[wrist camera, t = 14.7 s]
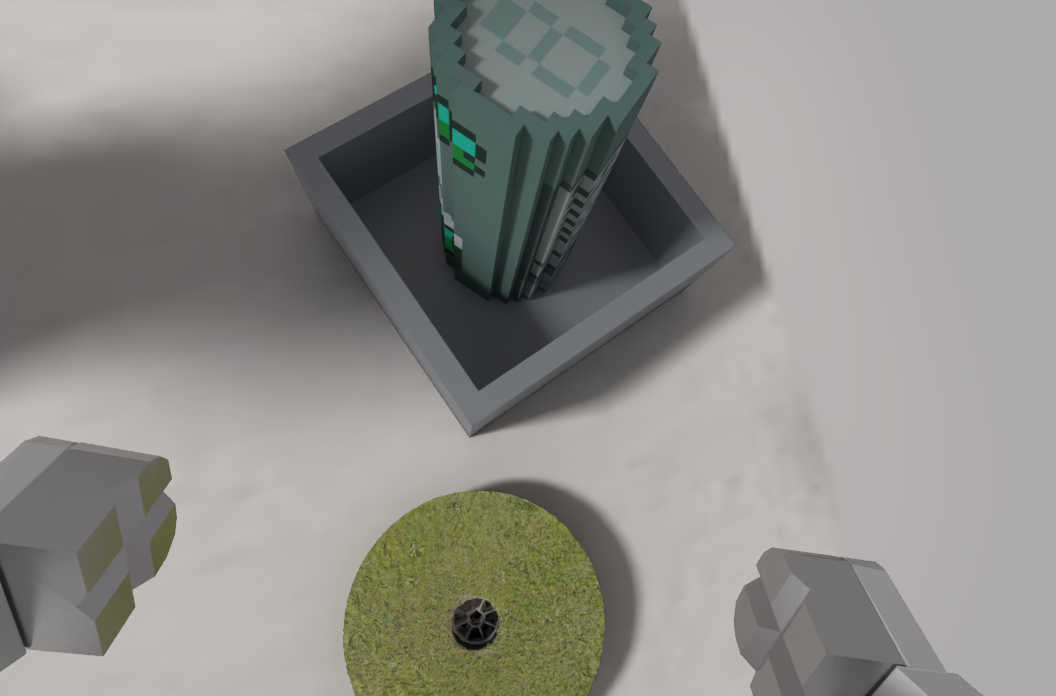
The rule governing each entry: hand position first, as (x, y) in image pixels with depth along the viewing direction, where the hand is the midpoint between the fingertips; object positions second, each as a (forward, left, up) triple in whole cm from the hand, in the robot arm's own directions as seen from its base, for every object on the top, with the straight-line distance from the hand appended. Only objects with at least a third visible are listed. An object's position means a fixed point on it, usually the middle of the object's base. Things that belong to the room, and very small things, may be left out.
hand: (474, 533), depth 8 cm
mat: (+5, -2, -22) cm, 22 cm away
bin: (-9, +9, -22) cm, 25 cm away
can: (-9, +9, -21) cm, 24 cm away
